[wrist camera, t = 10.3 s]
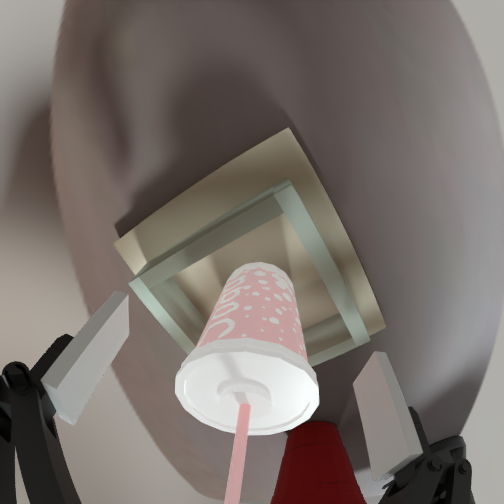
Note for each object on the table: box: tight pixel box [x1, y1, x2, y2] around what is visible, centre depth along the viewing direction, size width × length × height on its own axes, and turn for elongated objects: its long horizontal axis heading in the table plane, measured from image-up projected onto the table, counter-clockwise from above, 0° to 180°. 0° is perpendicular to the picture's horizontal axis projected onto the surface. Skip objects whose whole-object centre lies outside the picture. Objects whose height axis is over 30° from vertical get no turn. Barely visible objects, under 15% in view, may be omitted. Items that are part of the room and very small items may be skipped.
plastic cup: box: [270, 421, 367, 504], centre depth 21 cm, size 11×11×12 cm
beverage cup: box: [175, 262, 319, 504], centre depth 12 cm, size 6×6×14 cm
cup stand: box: [113, 127, 387, 367], centre depth 18 cm, size 16×14×4 cm
